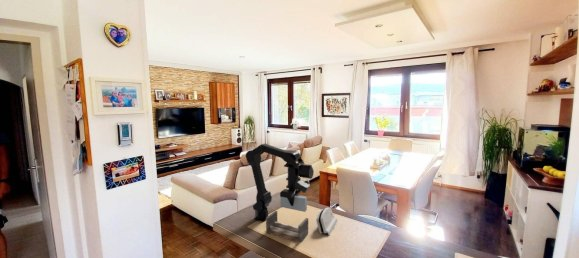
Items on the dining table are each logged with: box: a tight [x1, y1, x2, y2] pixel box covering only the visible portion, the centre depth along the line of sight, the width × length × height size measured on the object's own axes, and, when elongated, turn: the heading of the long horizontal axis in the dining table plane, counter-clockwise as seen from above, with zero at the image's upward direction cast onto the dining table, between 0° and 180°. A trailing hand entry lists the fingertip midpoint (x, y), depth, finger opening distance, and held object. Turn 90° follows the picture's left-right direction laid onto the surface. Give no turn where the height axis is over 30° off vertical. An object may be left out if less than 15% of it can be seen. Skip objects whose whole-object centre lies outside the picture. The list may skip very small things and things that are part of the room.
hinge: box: [316, 207, 338, 236], centre depth 128 cm, size 17×5×10 cm, turn 155°
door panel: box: [279, 194, 308, 213], centre depth 127 cm, size 14×2×7 cm, turn 64°
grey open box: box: [265, 210, 309, 244], centre depth 121 cm, size 19×9×8 cm, turn 63°
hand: (293, 204), depth 127 cm, fingers closed on door panel, 2 cm apart
